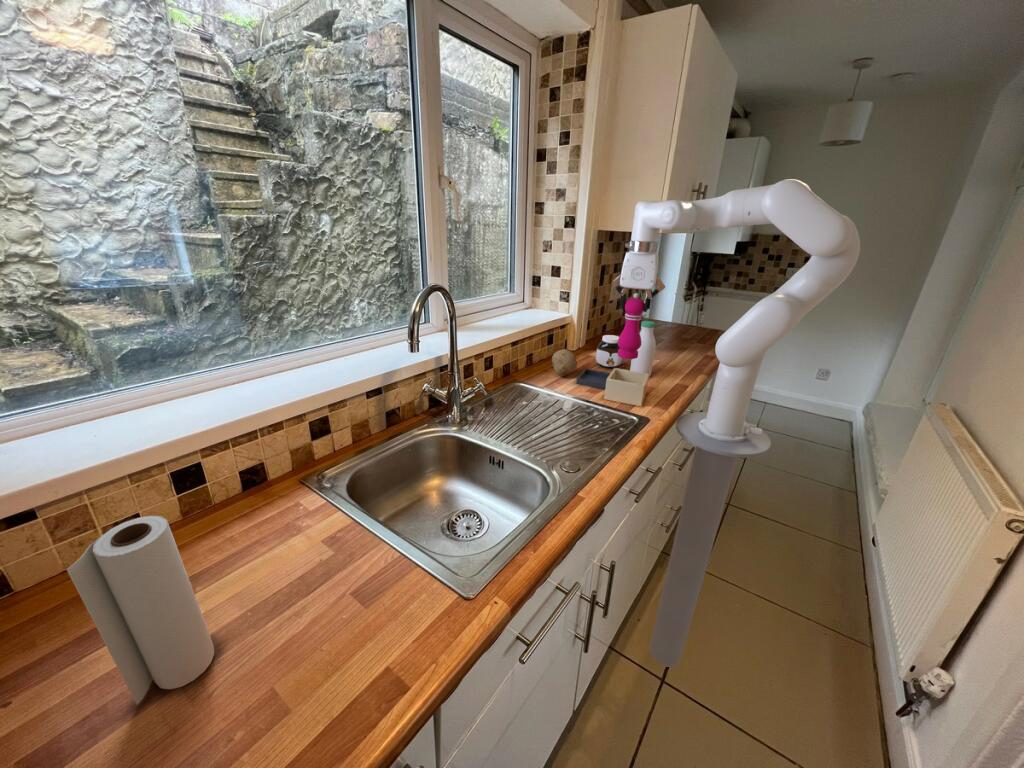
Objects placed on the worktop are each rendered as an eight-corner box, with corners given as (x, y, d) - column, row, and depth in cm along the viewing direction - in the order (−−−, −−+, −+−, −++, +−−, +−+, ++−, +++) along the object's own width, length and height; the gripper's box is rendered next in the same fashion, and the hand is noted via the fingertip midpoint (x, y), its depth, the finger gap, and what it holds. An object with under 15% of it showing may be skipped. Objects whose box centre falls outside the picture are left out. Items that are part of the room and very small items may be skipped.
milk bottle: (652, 378, 149) (661, 325, 141) (630, 376, 150) (638, 323, 142) (649, 371, 156) (658, 320, 148) (628, 369, 157) (636, 318, 149)
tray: (614, 379, 147) (615, 374, 147) (607, 389, 138) (608, 384, 137) (585, 373, 152) (585, 368, 151) (576, 383, 142) (576, 378, 141)
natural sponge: (574, 371, 153) (576, 346, 149) (577, 380, 145) (579, 354, 141) (550, 371, 153) (551, 345, 149) (551, 379, 145) (553, 353, 141)
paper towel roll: (217, 634, 55) (172, 507, 47) (212, 676, 50) (160, 542, 42) (150, 659, 52) (88, 527, 44) (137, 706, 47) (65, 567, 39)
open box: (646, 393, 136) (649, 373, 133) (640, 406, 126) (644, 385, 124) (611, 386, 141) (614, 367, 138) (603, 399, 131) (606, 378, 128)
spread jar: (593, 366, 159) (596, 338, 154) (599, 358, 169) (602, 331, 164) (624, 371, 155) (628, 342, 150) (628, 362, 164) (632, 335, 160)
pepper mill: (634, 361, 125) (644, 296, 117) (612, 356, 129) (620, 292, 121) (642, 355, 130) (652, 292, 123) (621, 351, 134) (629, 289, 127)
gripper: (610, 246, 117) (603, 308, 124) (673, 250, 111) (662, 315, 118) (615, 245, 123) (608, 304, 130) (676, 249, 117) (665, 311, 124)
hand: (634, 309), depth 124 cm, fingers closed on pepper mill, 6 cm apart
